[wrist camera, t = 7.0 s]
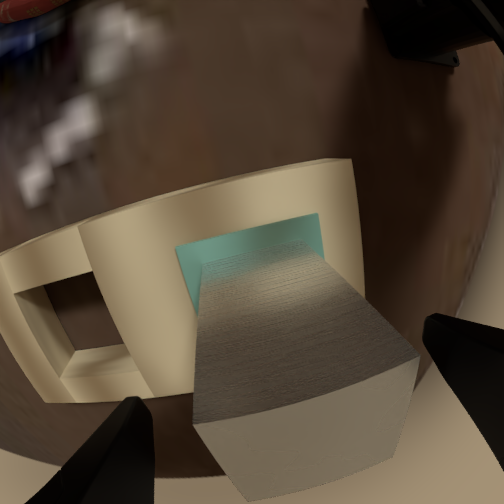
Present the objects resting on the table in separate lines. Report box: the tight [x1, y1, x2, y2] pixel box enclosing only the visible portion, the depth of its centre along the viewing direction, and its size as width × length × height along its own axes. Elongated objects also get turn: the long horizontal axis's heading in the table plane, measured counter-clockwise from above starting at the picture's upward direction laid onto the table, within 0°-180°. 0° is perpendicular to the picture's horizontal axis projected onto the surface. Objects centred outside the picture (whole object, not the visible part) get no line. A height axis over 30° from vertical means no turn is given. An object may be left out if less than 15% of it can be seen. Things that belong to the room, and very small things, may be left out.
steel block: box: [193, 239, 421, 502], centre depth 9 cm, size 4×4×8 cm
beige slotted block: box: [0, 158, 365, 403], centre depth 14 cm, size 21×10×3 cm, turn 102°
